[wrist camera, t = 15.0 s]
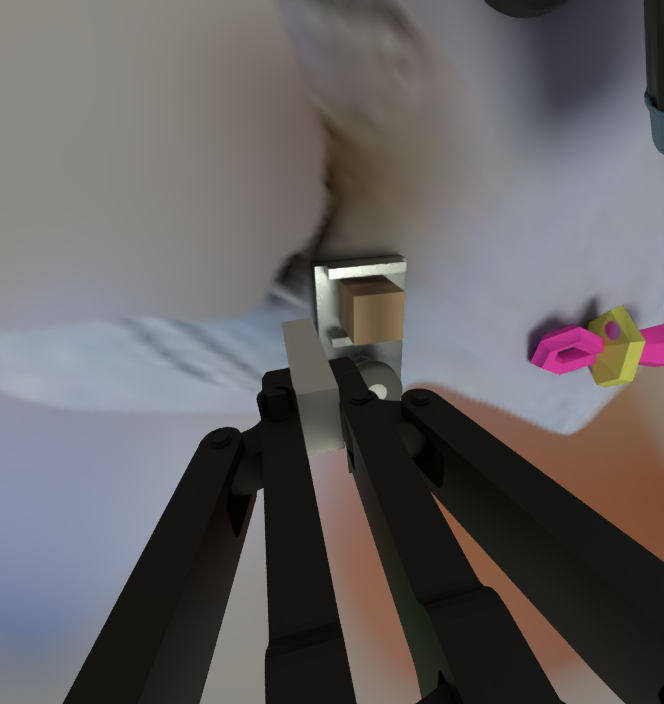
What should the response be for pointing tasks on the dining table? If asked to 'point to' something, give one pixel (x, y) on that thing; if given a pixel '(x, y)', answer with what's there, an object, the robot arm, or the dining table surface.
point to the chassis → (329, 307)
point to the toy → (603, 348)
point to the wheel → (381, 380)
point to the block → (371, 309)
